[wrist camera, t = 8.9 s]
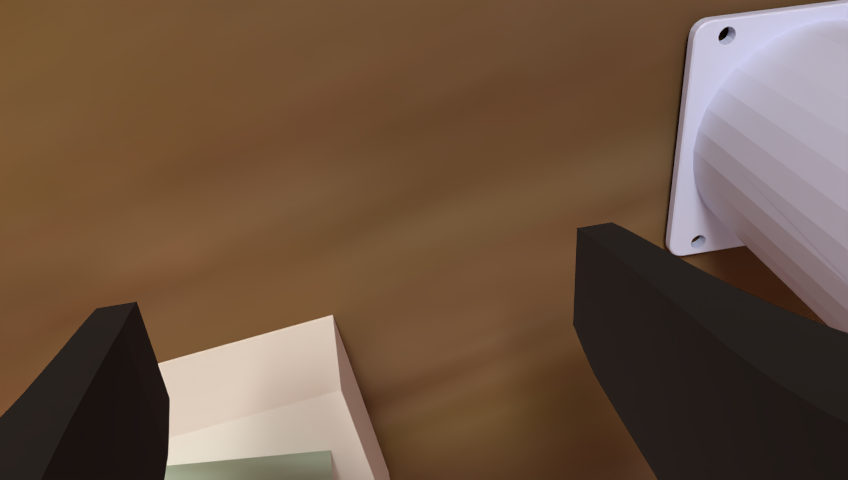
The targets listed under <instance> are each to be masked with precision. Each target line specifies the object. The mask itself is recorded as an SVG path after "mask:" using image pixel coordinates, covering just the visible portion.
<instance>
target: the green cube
mask: <svg viewBox="0 0 848 480" xmlns="http://www.w3.org/2000/svg"><path fill="white" fill-rule="evenodd" d="M164 480H333V476H332V464H331V452H330V450H328V451H317V452H307V453H296V454H285V455H275V456H264V457H254V458H243V459H233V460H222V461H212V462H201V463H190V464H180V465H169V466H166V472H165V478H164Z"/></svg>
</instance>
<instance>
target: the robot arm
mask: <svg viewBox="0 0 848 480" xmlns="http://www.w3.org/2000/svg"><path fill="white" fill-rule="evenodd" d="M726 27H728V28H729V32H728V34H727V36H726V37H725V38H724V39H723V40H720V41H719V39H718V36H719V34H720V32H721V31H722V30H723V29H724V28H726ZM698 235H700V237H699V239H697V240H696V241H695V242H692V243H691V241H692V239H693V238H694V237H696V236H698ZM666 246H667V248H668V249H669V250H670V251H671V252H672V254H671V253H669V252H667V251H665V250H663V249H662V248H660V247H658V246H656V245H654V244H653V243H651V242H649V241H647V240H645V239H643V238H642V237H640V236H638V235H636V234H634V233H632V232H630V231H629V230H627V229H625V228H623V227H621V226H618V225H616V224H614V223H606V224H600V225H594V226H588V227H582V228H577V246H576V271H575V295H574V320H573V325H574V328H575V330H576V332H577V335H578V337H579V340H580V342H581V345H582V347H583V350H584V352H585V354H586V356H587V359H588V361H589V363H590V366H591V368H592V370H593V372H594V374H595V376H596V378H597V379H598V381H599V383H600V385H601V386H602V388H603V390H604V391H605V393H606V395H607V396H608V398H609V400H610V401H611V403H612V405H613V406H614V408H615V410H616V411H617V413H618V415H619V416H620V418H621V420H622V421H623V423H624V425H625V426H626V428H627V430H628V431H629V433H630V434H631V436H632V438H633V439H634V441H635V443H636V444H637V446H638V448H639V449H640V451H641V453H642V454H643V456H644V457H645V459H646V461H647V462H648V464H649V466H650V467H651V469H652V471H653V472H654V474H655V476H656V477H657V479H658V480H848V0H839V1H831V2H823V3H816V4H808V5H800V6H792V7H784V8H776V9H768V10H761V11H753V12H745V13H737V14H729V15H721V16H713V17H706V18H703V19H700V20H699V21H698V22H697V23H695V24H694V26H693V27H692V29H691V30H690V33H689V37H688V46H687V55H686V64H685V73H684V82H683V90H682V99H681V108H680V117H679V126H678V135H677V144H676V153H675V162H674V171H673V180H672V189H671V198H670V206H669V215H668V224H667V233H666ZM740 246H747V247H748V248H749V249H750V250H751V251H752V252H753V253H754V254H755V255H756V256H757V257H758V258H759V259H760V260H761V261H762V262H763V263H764V264H765V265H766V266H767V267H768V268H769V269H770V270H771V271H772V272H773V273H774V274H775V275H776V276H777V277H779V278H780V279H781V280H782V281H783V282H784V283H785V284H786V285H787V286H788V287H789V288H790V289H791V290H792V291H793V292H794V293H795V294H796V295H797V296H798V297H799V298H800V299H801V300H802V301H803V302H804V303H805V304H806V305H807V306H808V307H809V308H810V309H811V310H812V311H813V312H814V313H815V314H816V315H818V316H819V317H820V318H821V319H822V320H823V321H824V322H825V323H826V324H827V325H828V326H826V325H824V324H821V323H818V322H816V321H813V320H811V319H808V318H805V317H803V316H800V315H797V314H795V313H792V312H790V311H787V310H785V309H782V308H780V307H778V306H775V305H773V304H771V303H768V302H766V301H764V300H762V299H760V298H758V297H755V296H753V295H751V294H749V293H747V292H745V291H742V290H740V289H738V288H736V287H734V286H732V285H730V284H728V283H726V282H724V281H722V280H720V279H718V278H716V277H714V276H712V275H710V274H708V273H706V272H704V271H702V270H700V269H698V268H697V267H695V266H693V265H691V264H689V263H687V262H685V261H684V260H682V259H680V258H678V257H676V256H684V255H690V254H696V253H703V252H709V251H715V250H721V249H727V248H733V247H740ZM673 254H674V255H676V256H674V255H673ZM169 413H170V398H169V395H168V392H167V389H166V386H165V383H164V380H163V378H162V375H161V372H160V369H159V366H158V363H157V360H156V357H155V354H154V351H153V348H152V345H151V342H150V340H149V337H148V334H147V331H146V328H145V325H144V322H143V319H142V316H141V313H140V310H139V307H138V305H137V302H133V303H127V304H121V305H115V306H109V307H103V308H97V309H96V310H95V311H94V312H93V313H92V314H91V315H90V316H89V317H88V318H87V320H86V321H85V322H84V323H83V324H82V325H81V327H80V328H79V329H78V330H77V331H76V333H75V334H74V335H73V336H72V337H71V339H70V340H69V341H68V342H67V343H66V344H65V346H64V347H63V348H62V349H61V350H60V352H59V353H58V354H57V355H56V356H55V358H54V359H53V360H52V361H51V362H50V363H49V364H48V366H47V367H46V368H45V369H44V370H43V371H42V373H41V374H40V375H39V376H38V377H37V378H36V379H35V381H34V382H33V383H32V384H31V385H30V386H29V387H28V389H27V390H26V391H25V392H24V393H23V394H22V395H21V396H20V398H19V399H18V400H17V401H16V402H15V403H14V404H13V405H12V406H11V407H10V408H9V409H8V410H7V411H6V412H5V413H4V414H3V415H2V416H1V417H0V480H164V478H165V472H166V466H167V460H168V447H169Z"/></svg>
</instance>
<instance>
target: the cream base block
mask: <svg viewBox="0 0 848 480" xmlns="http://www.w3.org/2000/svg"><path fill="white" fill-rule="evenodd" d="M158 366H159V369H160V372H161V375H162V378H163V380H164V383H165V386H166V389H167V392H168V395H169V398H170V413H169V447H168V460H167V466H169V465H180V464H190V463H201V462H212V461H222V460H233V459H243V458H254V457H264V456H275V455H285V454H296V453H307V452H317V451H328V450H330V452H331V464H332V476H333V480H390V478H389V472H388V469H387V466H386V463H385V460H384V458H383V455H382V452H381V449H380V446H379V444H378V441H377V438H376V435H375V432H374V430H373V427H372V424H371V421H370V418H369V416H368V413H367V410H366V407H365V404H364V401H363V399H362V396H361V393H360V390H359V387H358V385H357V382H356V379H355V376H354V373H353V371H352V368H351V365H350V362H349V359H348V357H347V354H346V351H345V348H344V345H343V342H342V340H341V337H340V334H339V331H338V328H337V326H336V323H335V320H334V317H333V315H331V316H327V317H323V318H320V319H316V320H313V321H309V322H305V323H302V324H298V325H295V326H291V327H287V328H284V329H280V330H277V331H273V332H270V333H266V334H262V335H259V336H255V337H252V338H248V339H244V340H241V341H237V342H234V343H230V344H226V345H223V346H219V347H216V348H212V349H208V350H205V351H201V352H198V353H194V354H190V355H187V356H183V357H180V358H176V359H172V360H169V361H165V362H162V363H158Z"/></svg>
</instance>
